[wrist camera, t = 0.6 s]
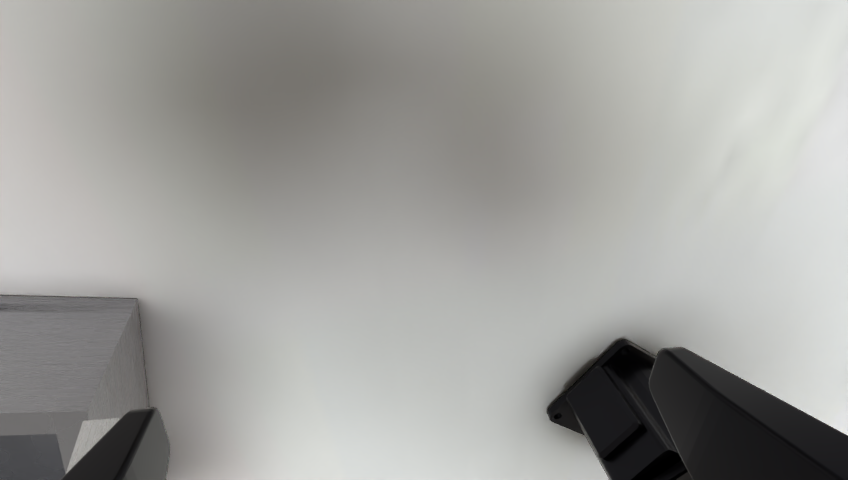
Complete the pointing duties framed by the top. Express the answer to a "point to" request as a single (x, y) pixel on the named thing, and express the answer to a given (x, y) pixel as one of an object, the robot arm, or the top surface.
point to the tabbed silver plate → (90, 437)
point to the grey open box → (63, 376)
